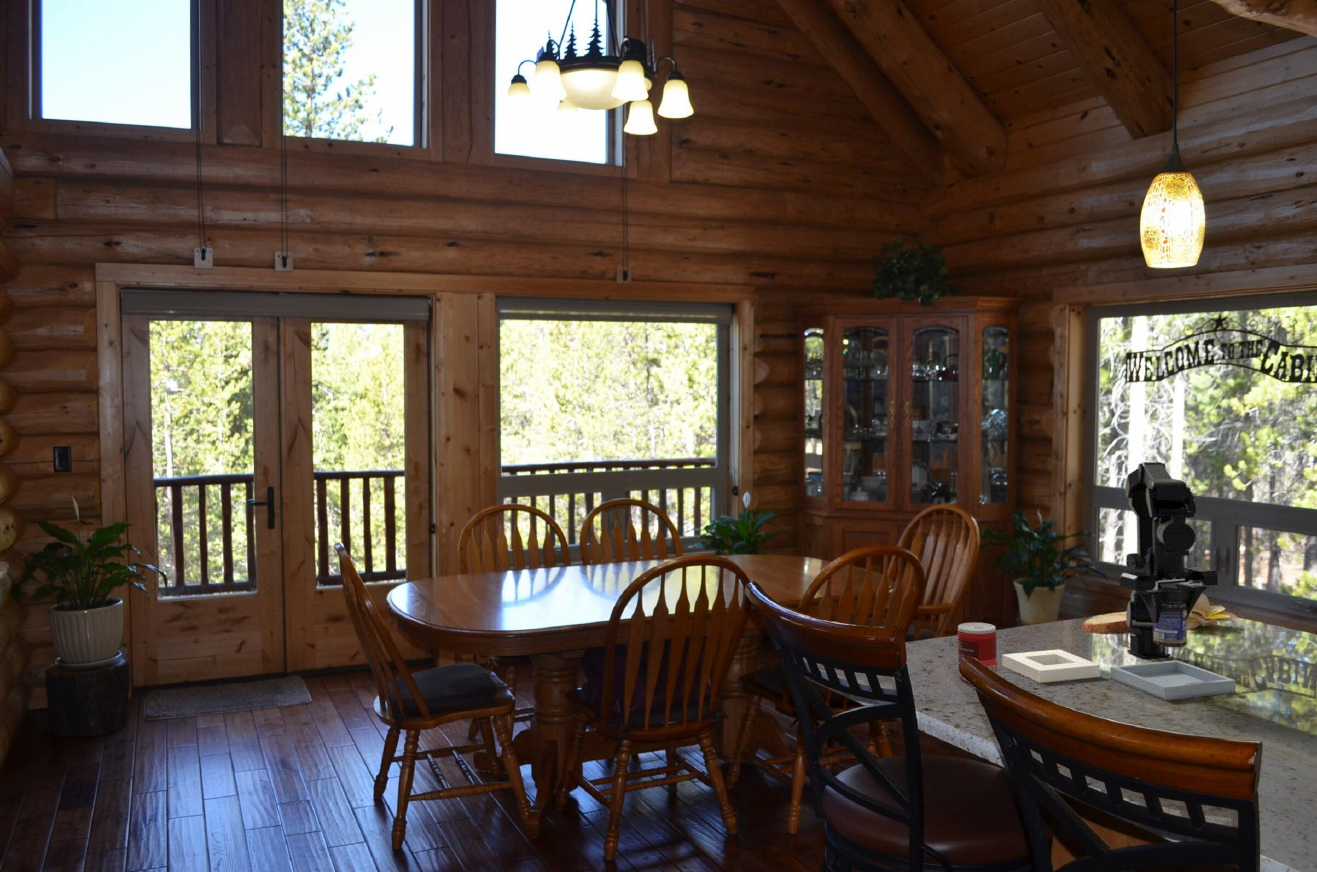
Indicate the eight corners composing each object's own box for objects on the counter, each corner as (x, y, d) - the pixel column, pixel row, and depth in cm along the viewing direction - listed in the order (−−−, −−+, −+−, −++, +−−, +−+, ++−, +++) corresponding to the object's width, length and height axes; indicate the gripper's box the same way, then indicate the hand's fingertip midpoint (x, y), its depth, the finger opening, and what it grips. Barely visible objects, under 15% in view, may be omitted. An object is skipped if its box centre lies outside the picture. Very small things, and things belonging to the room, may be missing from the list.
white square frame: (1059, 660, 230) (1059, 649, 230) (1099, 676, 216) (1099, 664, 216) (1002, 665, 227) (1002, 654, 227) (1039, 682, 213) (1039, 670, 213)
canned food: (997, 674, 220) (996, 623, 220) (996, 684, 213) (995, 631, 212) (959, 672, 223) (958, 621, 222) (957, 682, 215) (956, 629, 215)
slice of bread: (1080, 633, 256) (1080, 618, 255) (1085, 618, 272) (1085, 604, 272) (1162, 639, 248) (1162, 623, 248) (1162, 623, 264) (1162, 609, 264)
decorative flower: (1200, 629, 247) (1193, 587, 250) (1162, 631, 258) (1156, 590, 260) (1246, 627, 253) (1239, 585, 255) (1207, 629, 263) (1201, 589, 265)
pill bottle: (1190, 648, 205) (1190, 592, 204) (1157, 647, 206) (1157, 592, 205) (1181, 641, 211) (1181, 587, 210) (1149, 640, 212) (1149, 586, 212)
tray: (1177, 672, 218) (1177, 660, 218) (1235, 692, 203) (1235, 680, 202) (1110, 678, 215) (1110, 666, 214) (1164, 700, 199) (1164, 687, 199)
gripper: (1180, 536, 217) (1181, 610, 218) (1101, 541, 213) (1102, 616, 214) (1220, 543, 207) (1221, 621, 207) (1138, 549, 203) (1138, 628, 203)
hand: (1169, 621), depth 208 cm, fingers closed on pill bottle, 6 cm apart
